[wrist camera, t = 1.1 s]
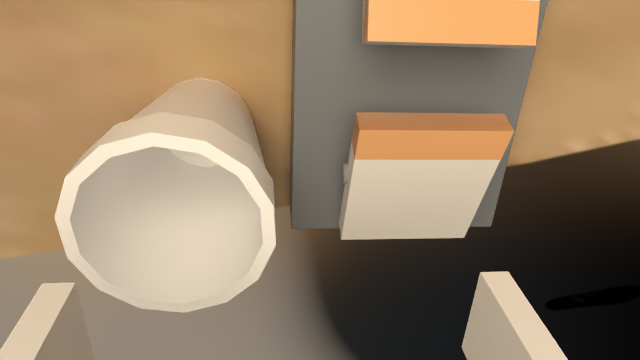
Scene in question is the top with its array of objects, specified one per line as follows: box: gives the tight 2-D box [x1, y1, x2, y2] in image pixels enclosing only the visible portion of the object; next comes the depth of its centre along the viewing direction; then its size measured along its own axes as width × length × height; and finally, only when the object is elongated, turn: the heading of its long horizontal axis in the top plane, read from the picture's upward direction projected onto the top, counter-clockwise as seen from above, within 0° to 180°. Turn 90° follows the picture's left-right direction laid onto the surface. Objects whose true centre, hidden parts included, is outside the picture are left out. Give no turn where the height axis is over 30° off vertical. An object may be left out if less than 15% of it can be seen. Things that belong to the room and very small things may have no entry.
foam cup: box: [54, 78, 276, 313], centre depth 27 cm, size 10×9×13 cm
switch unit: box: [290, 0, 548, 229], centre depth 29 cm, size 14×23×6 cm, turn 177°
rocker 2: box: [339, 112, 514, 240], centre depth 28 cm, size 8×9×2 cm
